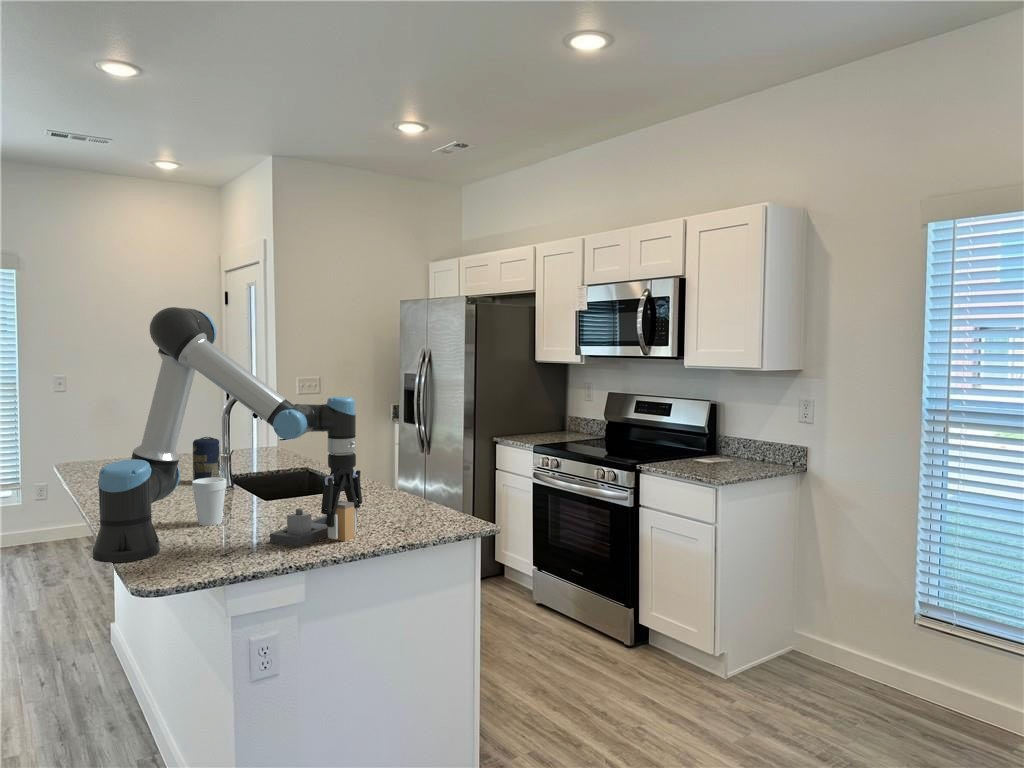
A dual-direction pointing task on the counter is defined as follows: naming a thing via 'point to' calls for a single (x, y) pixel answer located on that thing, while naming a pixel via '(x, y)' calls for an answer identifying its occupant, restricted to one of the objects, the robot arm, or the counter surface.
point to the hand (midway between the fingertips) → (342, 534)
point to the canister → (206, 458)
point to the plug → (345, 520)
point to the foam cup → (209, 500)
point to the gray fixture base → (301, 530)
